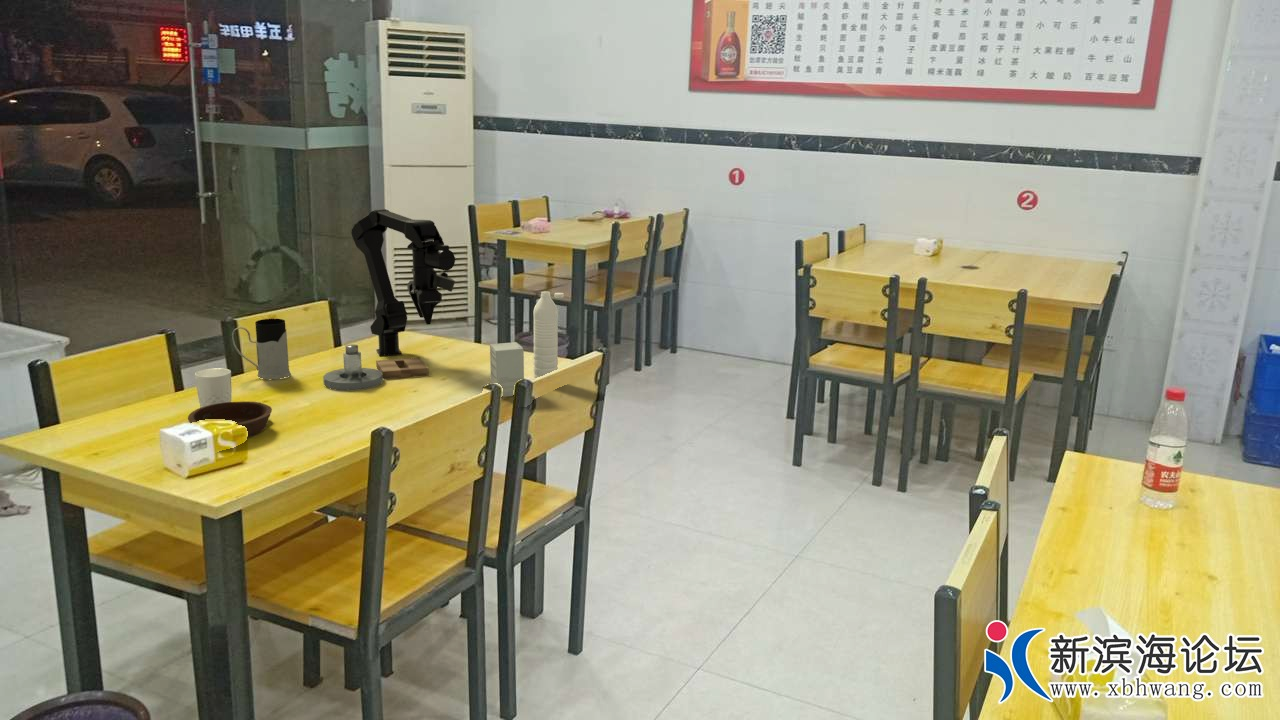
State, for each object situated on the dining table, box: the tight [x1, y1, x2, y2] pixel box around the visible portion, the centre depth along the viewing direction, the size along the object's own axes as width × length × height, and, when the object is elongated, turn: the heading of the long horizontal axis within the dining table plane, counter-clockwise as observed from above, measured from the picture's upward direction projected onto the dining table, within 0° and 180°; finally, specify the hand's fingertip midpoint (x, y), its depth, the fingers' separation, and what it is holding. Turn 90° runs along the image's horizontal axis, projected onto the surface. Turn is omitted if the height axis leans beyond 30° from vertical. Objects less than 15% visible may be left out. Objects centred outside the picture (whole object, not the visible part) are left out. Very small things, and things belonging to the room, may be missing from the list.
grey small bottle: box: [342, 344, 363, 379], centre depth 270 cm, size 4×4×10 cm
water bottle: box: [533, 290, 565, 379], centre depth 271 cm, size 9×6×25 cm
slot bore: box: [375, 356, 429, 380], centre depth 282 cm, size 12×12×2 cm
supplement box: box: [489, 341, 525, 398], centre depth 264 cm, size 7×7×13 cm
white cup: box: [194, 367, 233, 408], centre depth 243 cm, size 8×8×10 cm
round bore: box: [322, 367, 384, 391], centre depth 271 cm, size 15×15×2 cm
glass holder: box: [231, 318, 292, 380], centre depth 273 cm, size 9×14×15 cm, turn 104°
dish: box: [187, 400, 273, 438], centre depth 230 cm, size 17×22×5 cm
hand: (425, 320), depth 288 cm, fingers open, 9 cm apart
